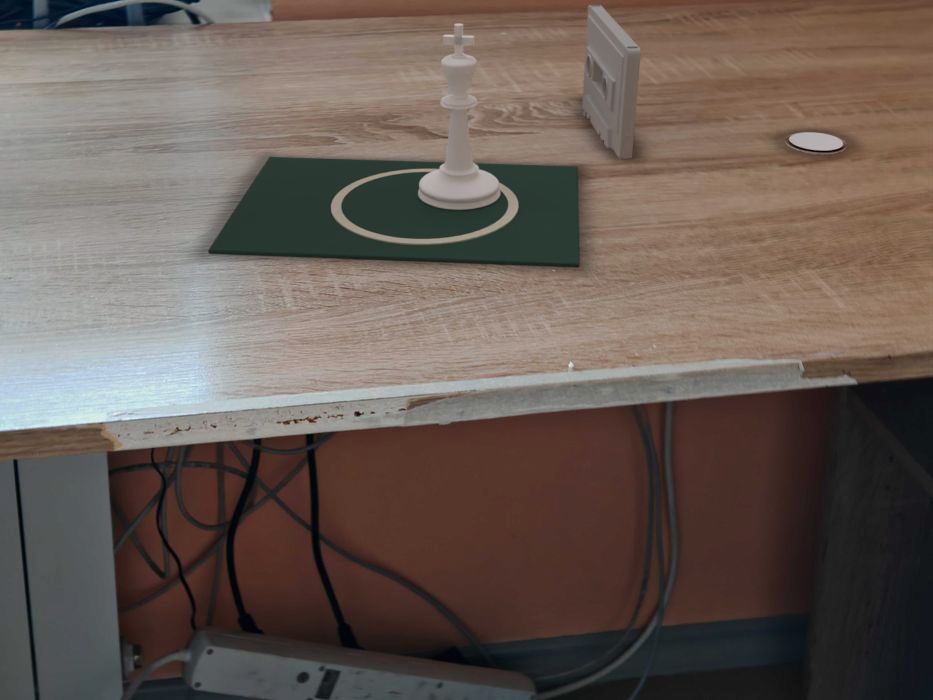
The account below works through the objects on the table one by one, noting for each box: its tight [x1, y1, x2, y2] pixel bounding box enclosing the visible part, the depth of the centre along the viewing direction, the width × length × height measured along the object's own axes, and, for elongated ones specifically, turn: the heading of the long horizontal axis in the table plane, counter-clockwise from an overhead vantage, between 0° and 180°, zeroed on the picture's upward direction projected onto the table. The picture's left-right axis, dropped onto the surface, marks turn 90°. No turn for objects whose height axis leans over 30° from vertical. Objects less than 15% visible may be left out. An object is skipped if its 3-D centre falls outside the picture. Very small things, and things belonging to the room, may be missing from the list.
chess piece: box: [418, 23, 500, 210], centre depth 62 cm, size 5×5×10 cm
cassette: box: [581, 4, 642, 160], centre depth 74 cm, size 12×2×8 cm, turn 7°
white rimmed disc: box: [784, 131, 848, 156], centre depth 73 cm, size 4×4×1 cm
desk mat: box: [207, 156, 580, 268], centre depth 64 cm, size 20×14×1 cm
